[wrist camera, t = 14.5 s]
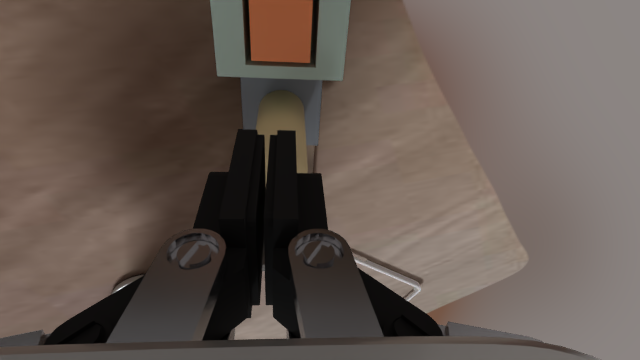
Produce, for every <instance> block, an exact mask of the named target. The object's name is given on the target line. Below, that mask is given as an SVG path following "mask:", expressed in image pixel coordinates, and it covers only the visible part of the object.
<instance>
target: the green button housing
mask: <svg viewBox="0 0 640 360" xmlns="http://www.w3.org/2000/svg"><path fill="white" fill-rule="evenodd" d="M350 3H351V0H313V9H312V30H311V51H310V63H296V62H272V61H251V41H250V17H249V0H210V5H211V15H212V26H213V36H214V47H215V58H216V68H217V76H222V77H250V78H277V79H304V80H331V81H343V73H344V63H345V53H346V43H347V33H348V23H349V13H350Z"/></svg>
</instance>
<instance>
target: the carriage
mask: <svg viewBox="0 0 640 360" xmlns="http://www.w3.org/2000/svg"><path fill="white" fill-rule="evenodd" d="M240 80H241V97H242V114H243V129H251V130H257V132H258V135H264V136H265V175H266V180H267V168H268V155H269V142H270V135H277V130H294V131H296V159H297V173H308V165H307V148H306V145H317V146H318V137H319V123H320V108H321V94H322V80H304V79H277V78H250V77H240Z"/></svg>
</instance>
